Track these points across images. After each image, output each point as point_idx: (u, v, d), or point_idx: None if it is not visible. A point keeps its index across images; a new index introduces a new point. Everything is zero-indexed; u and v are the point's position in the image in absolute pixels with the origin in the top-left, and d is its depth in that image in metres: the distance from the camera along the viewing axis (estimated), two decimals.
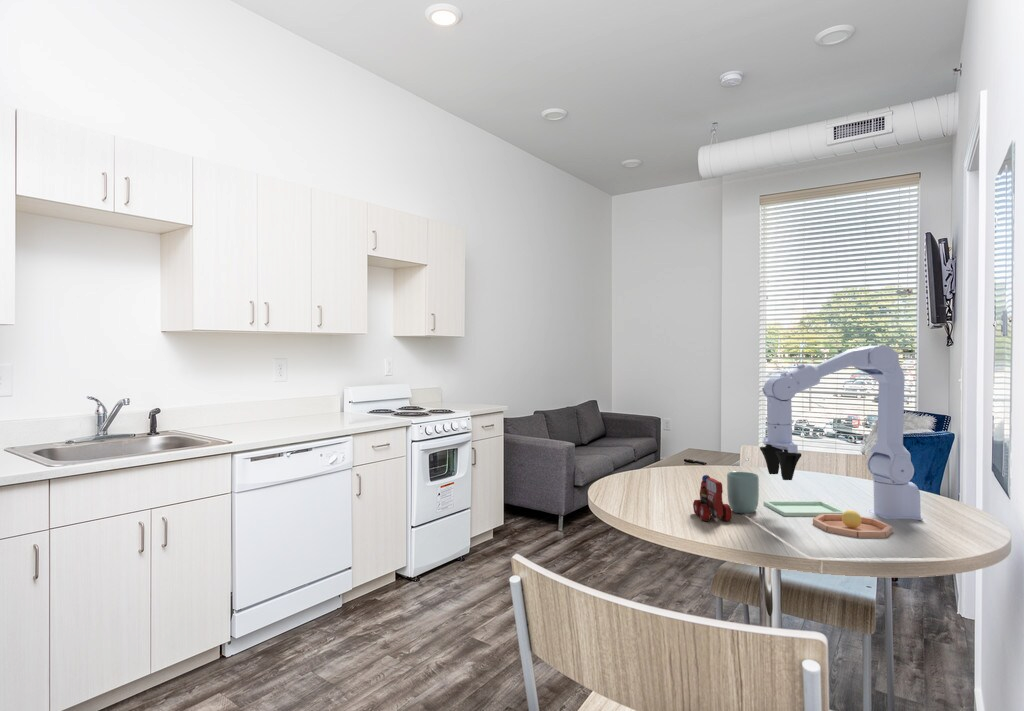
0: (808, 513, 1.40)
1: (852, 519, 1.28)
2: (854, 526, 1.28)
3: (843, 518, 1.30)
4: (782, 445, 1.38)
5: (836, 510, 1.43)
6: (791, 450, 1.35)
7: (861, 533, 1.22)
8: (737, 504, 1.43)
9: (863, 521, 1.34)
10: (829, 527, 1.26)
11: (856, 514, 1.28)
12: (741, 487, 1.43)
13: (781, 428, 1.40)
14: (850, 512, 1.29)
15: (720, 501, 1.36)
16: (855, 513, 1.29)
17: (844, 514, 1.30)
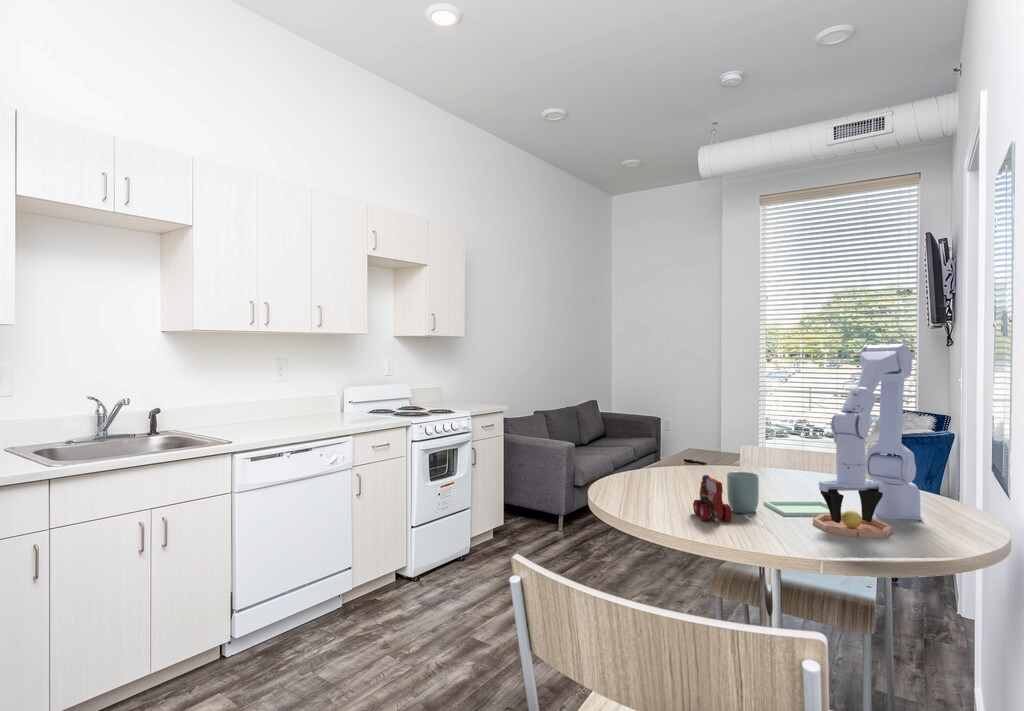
0: (808, 513, 1.40)
1: (852, 519, 1.28)
2: (854, 526, 1.28)
3: (843, 518, 1.30)
4: None
5: None
6: (820, 487, 1.30)
7: (861, 533, 1.22)
8: (737, 504, 1.43)
9: (863, 521, 1.34)
10: (829, 527, 1.26)
11: (856, 514, 1.28)
12: (741, 487, 1.43)
13: (837, 466, 1.31)
14: (850, 512, 1.29)
15: (720, 501, 1.36)
16: (855, 513, 1.29)
17: (844, 514, 1.30)
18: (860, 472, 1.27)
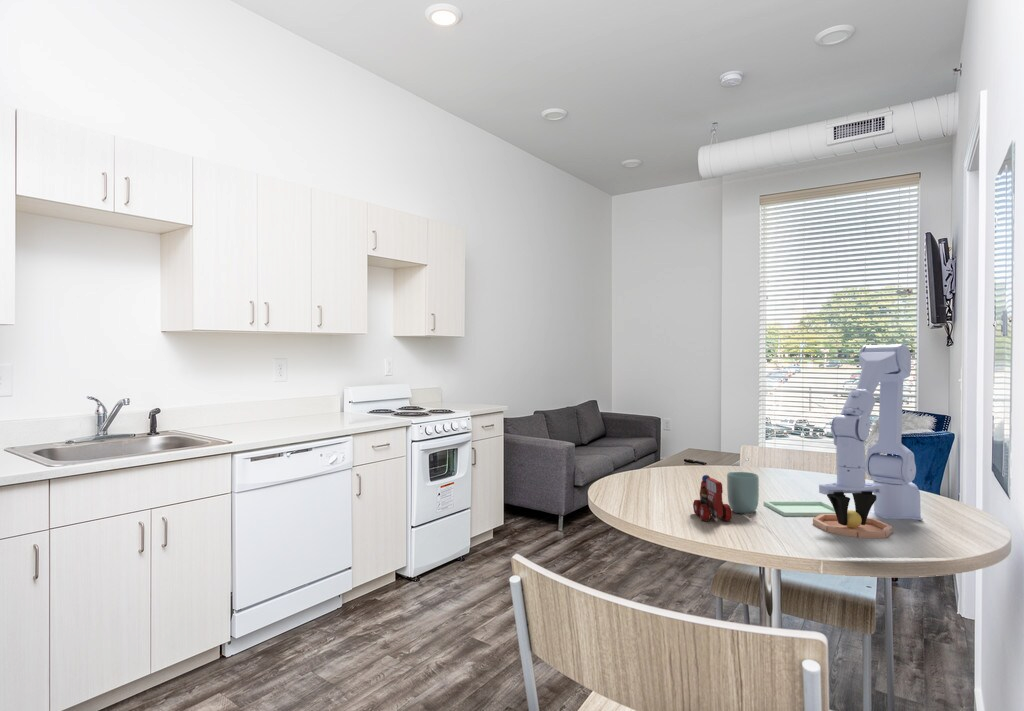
0: (808, 513, 1.40)
1: (852, 519, 1.28)
2: (854, 526, 1.28)
3: None
4: None
5: None
6: (820, 490, 1.30)
7: (861, 533, 1.22)
8: (737, 504, 1.43)
9: None
10: (829, 527, 1.26)
11: (856, 514, 1.28)
12: (741, 487, 1.43)
13: (837, 469, 1.30)
14: (850, 512, 1.29)
15: (720, 501, 1.36)
16: (855, 513, 1.29)
17: None
18: (860, 475, 1.27)
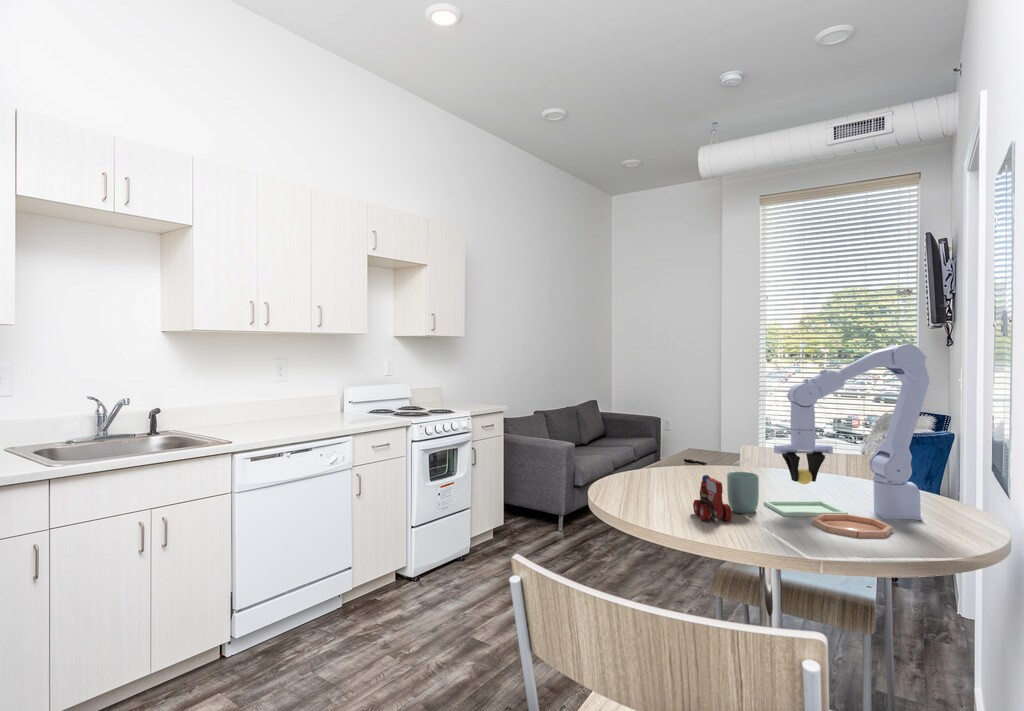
0: (808, 513, 1.40)
1: (803, 476, 1.44)
2: (805, 482, 1.44)
3: None
4: None
5: (836, 510, 1.43)
6: (774, 450, 1.47)
7: (861, 533, 1.22)
8: (737, 504, 1.43)
9: (863, 521, 1.34)
10: (829, 527, 1.26)
11: (807, 472, 1.44)
12: (741, 487, 1.43)
13: (791, 432, 1.47)
14: (802, 470, 1.45)
15: (720, 501, 1.36)
16: (806, 471, 1.45)
17: None
18: (810, 437, 1.43)
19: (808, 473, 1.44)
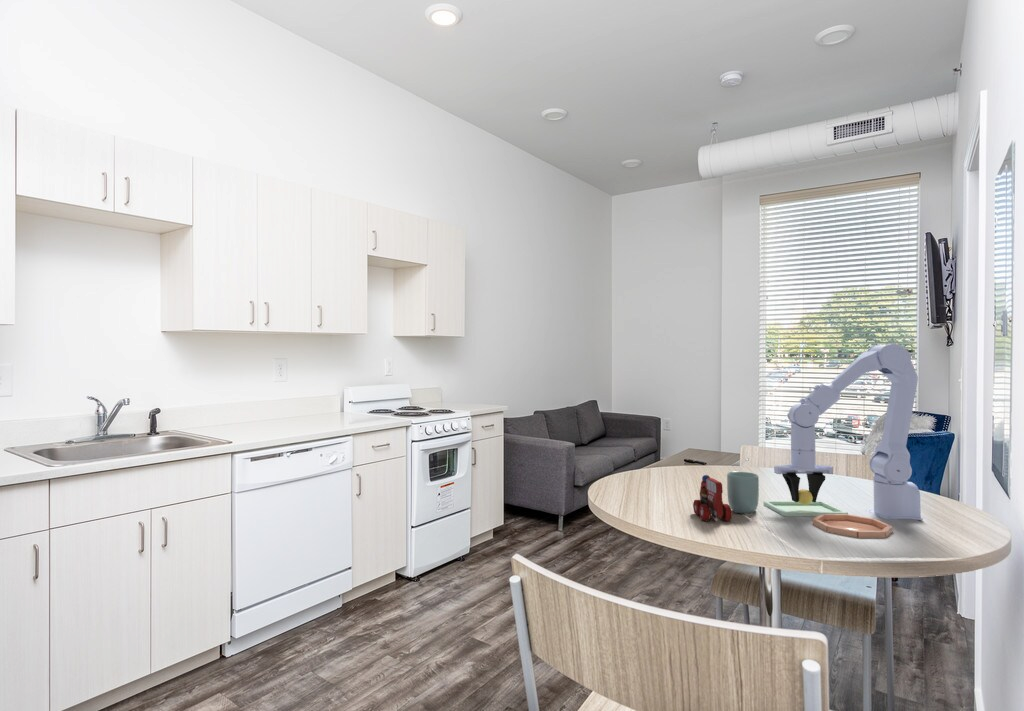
0: (808, 513, 1.40)
1: (803, 497, 1.44)
2: (805, 503, 1.44)
3: None
4: None
5: (836, 510, 1.43)
6: (775, 471, 1.47)
7: (861, 533, 1.22)
8: (737, 504, 1.43)
9: (863, 521, 1.34)
10: (829, 527, 1.26)
11: (807, 492, 1.44)
12: (741, 487, 1.43)
13: (791, 452, 1.47)
14: (802, 490, 1.45)
15: (720, 501, 1.36)
16: (806, 491, 1.45)
17: None
18: (810, 457, 1.43)
19: (808, 494, 1.44)
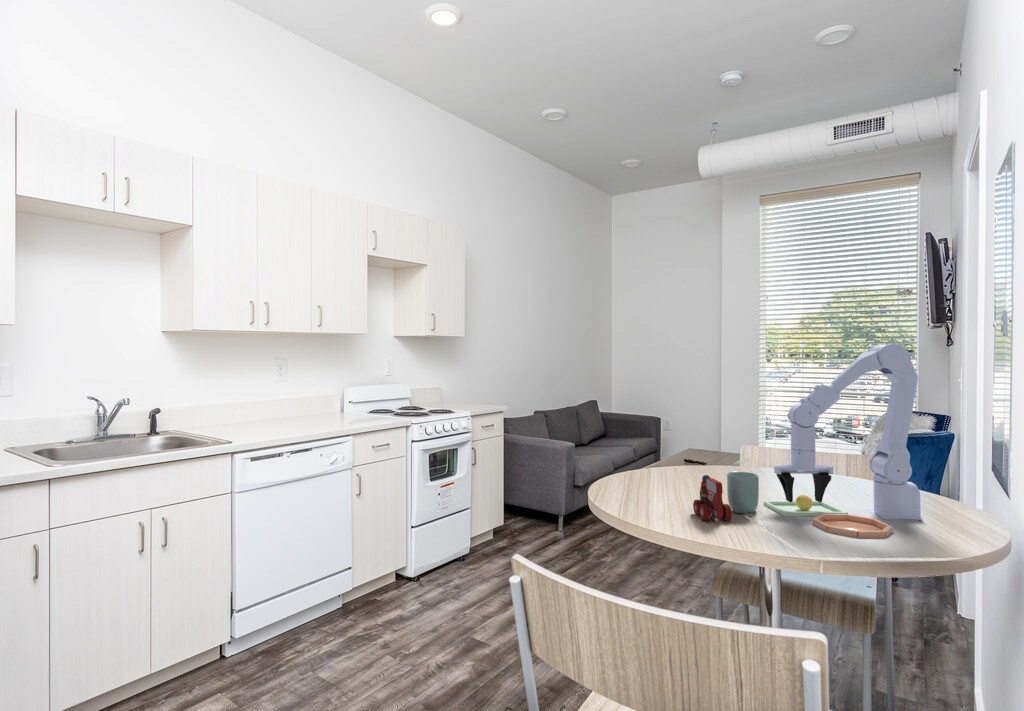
0: (808, 513, 1.40)
1: (803, 502, 1.44)
2: (805, 508, 1.44)
3: (796, 501, 1.46)
4: None
5: (836, 510, 1.43)
6: (775, 471, 1.47)
7: (861, 533, 1.22)
8: (737, 504, 1.43)
9: (863, 521, 1.34)
10: (829, 527, 1.26)
11: (807, 498, 1.44)
12: (741, 487, 1.43)
13: (791, 452, 1.47)
14: (802, 496, 1.45)
15: (720, 501, 1.36)
16: (807, 497, 1.45)
17: (797, 498, 1.46)
18: (810, 457, 1.43)
19: (808, 499, 1.44)
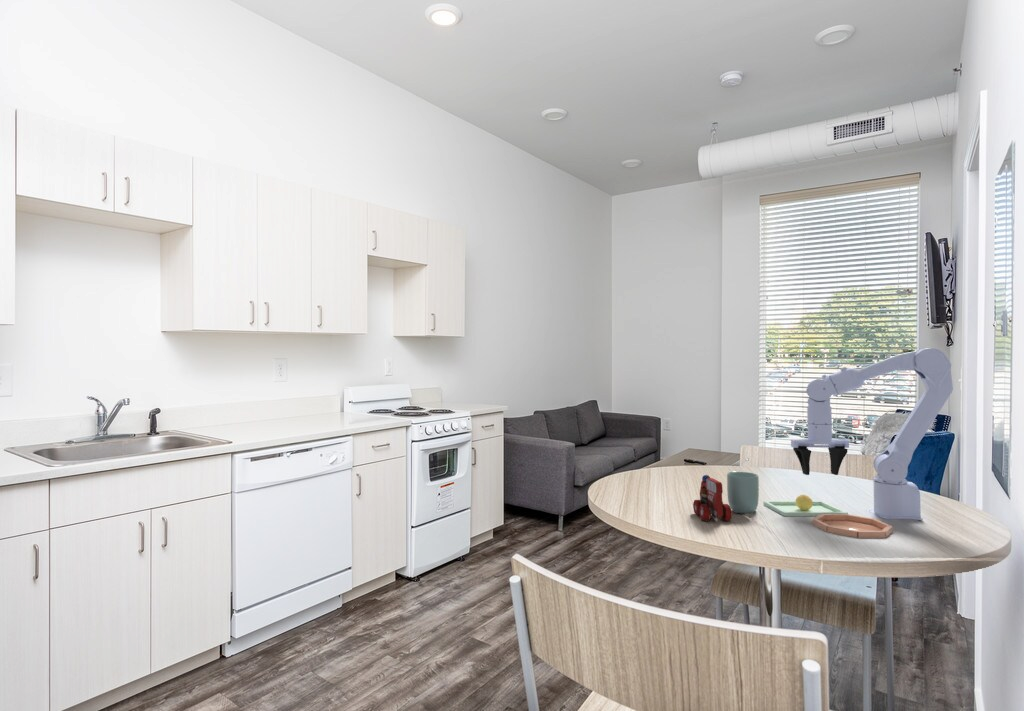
0: (808, 513, 1.40)
1: (803, 502, 1.44)
2: (805, 508, 1.44)
3: (796, 501, 1.46)
4: None
5: (836, 510, 1.43)
6: (791, 444, 1.50)
7: (861, 533, 1.22)
8: (737, 504, 1.43)
9: (863, 521, 1.34)
10: (829, 527, 1.26)
11: (807, 498, 1.44)
12: (741, 487, 1.43)
13: None
14: (802, 496, 1.45)
15: (720, 501, 1.36)
16: (806, 497, 1.45)
17: (797, 498, 1.46)
18: (826, 431, 1.46)
19: (808, 499, 1.44)
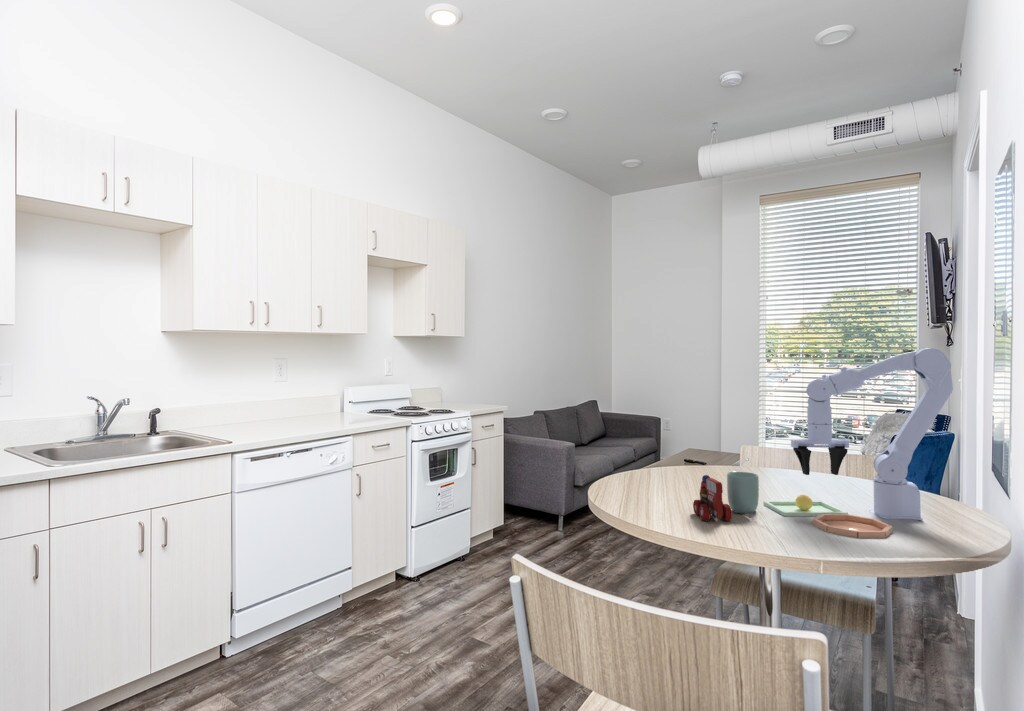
0: (808, 513, 1.40)
1: (803, 502, 1.44)
2: (805, 508, 1.44)
3: (796, 501, 1.46)
4: None
5: (836, 510, 1.43)
6: (791, 444, 1.50)
7: (861, 533, 1.22)
8: (737, 504, 1.43)
9: (863, 521, 1.34)
10: (829, 527, 1.26)
11: (807, 498, 1.44)
12: (741, 487, 1.43)
13: None
14: (802, 496, 1.45)
15: (720, 501, 1.36)
16: (806, 497, 1.45)
17: (797, 498, 1.46)
18: (826, 431, 1.46)
19: (808, 499, 1.44)
